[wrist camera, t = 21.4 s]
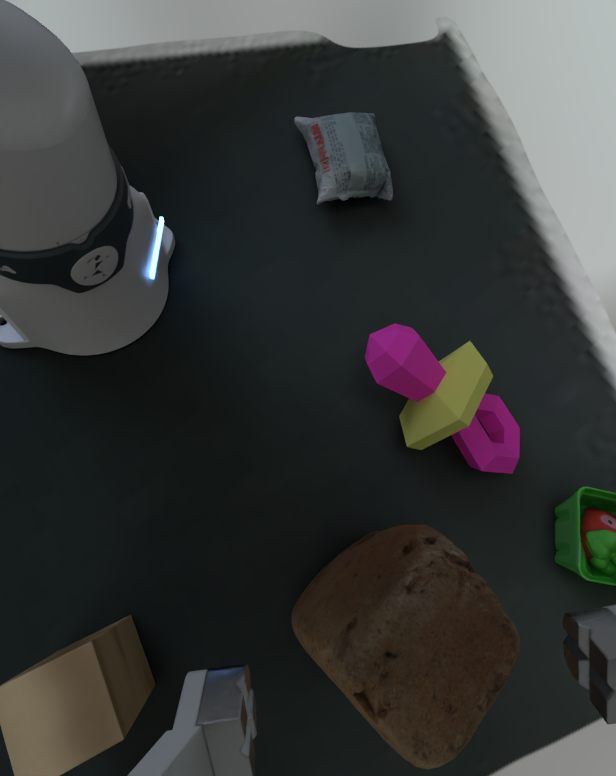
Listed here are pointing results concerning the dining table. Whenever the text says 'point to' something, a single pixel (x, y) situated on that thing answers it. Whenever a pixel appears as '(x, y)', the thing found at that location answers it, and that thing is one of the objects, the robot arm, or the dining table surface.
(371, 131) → the packaged food
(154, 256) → the robot arm
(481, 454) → the toy
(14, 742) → the maple block
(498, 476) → the dining table surface
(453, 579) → the block
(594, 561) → the fruit basket
